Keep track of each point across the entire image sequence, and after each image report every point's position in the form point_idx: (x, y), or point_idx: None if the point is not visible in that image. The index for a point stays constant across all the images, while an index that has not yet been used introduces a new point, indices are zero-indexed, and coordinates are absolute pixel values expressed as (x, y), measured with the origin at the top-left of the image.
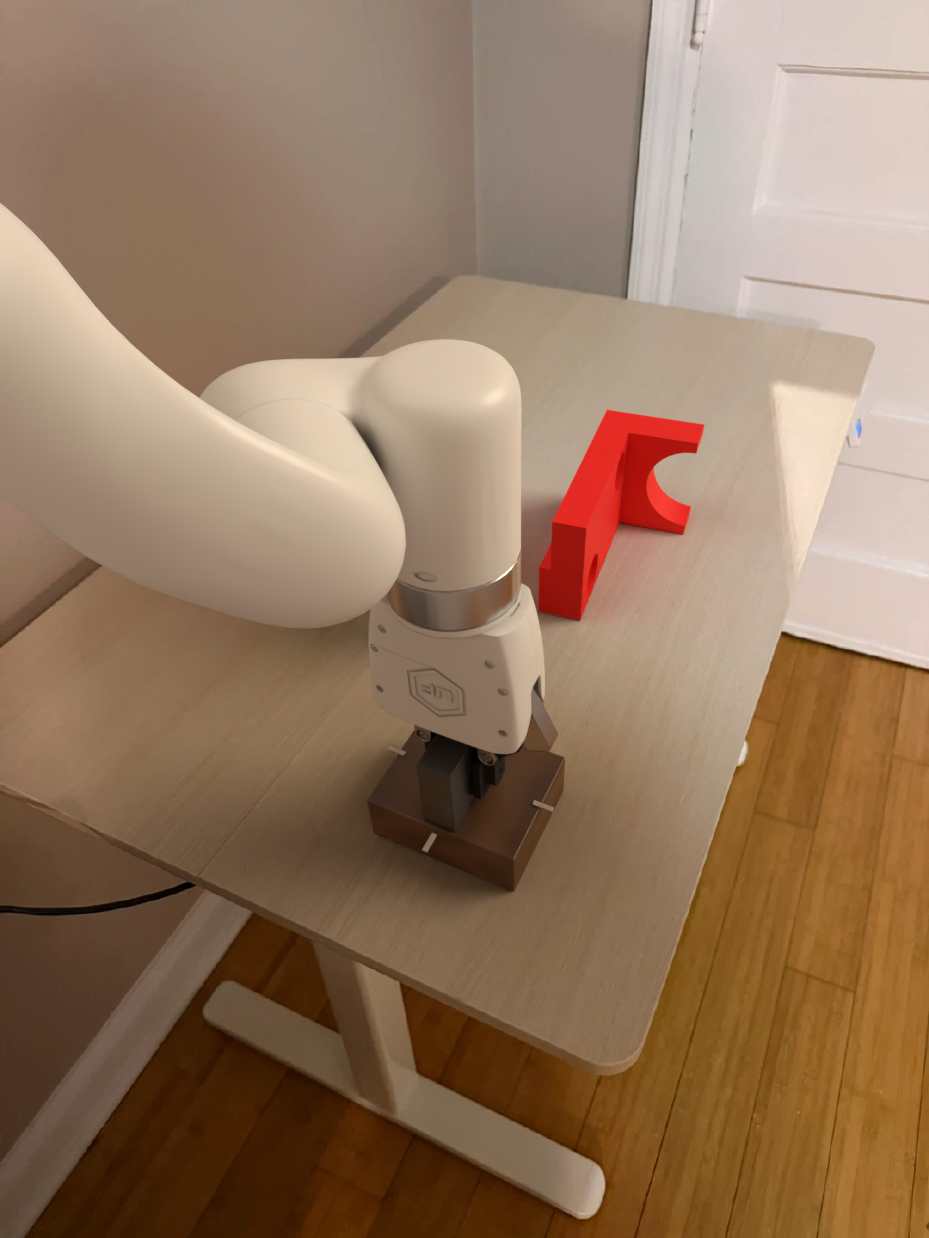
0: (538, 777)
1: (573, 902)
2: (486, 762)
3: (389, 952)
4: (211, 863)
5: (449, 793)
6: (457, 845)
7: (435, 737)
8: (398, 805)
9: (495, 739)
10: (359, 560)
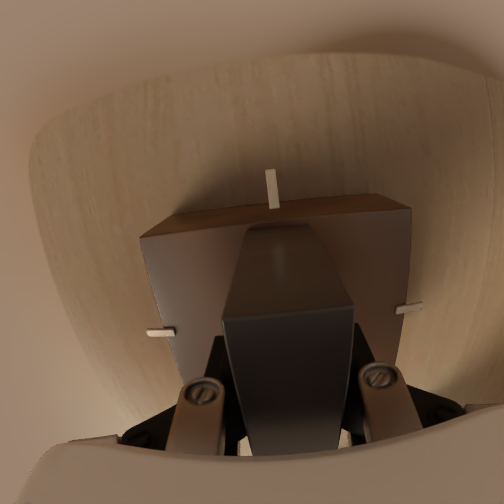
0: (196, 365)
1: (113, 241)
2: (206, 382)
3: (256, 64)
4: (485, 86)
5: (236, 277)
6: (239, 217)
7: (342, 398)
8: (363, 225)
9: (58, 495)
10: None
